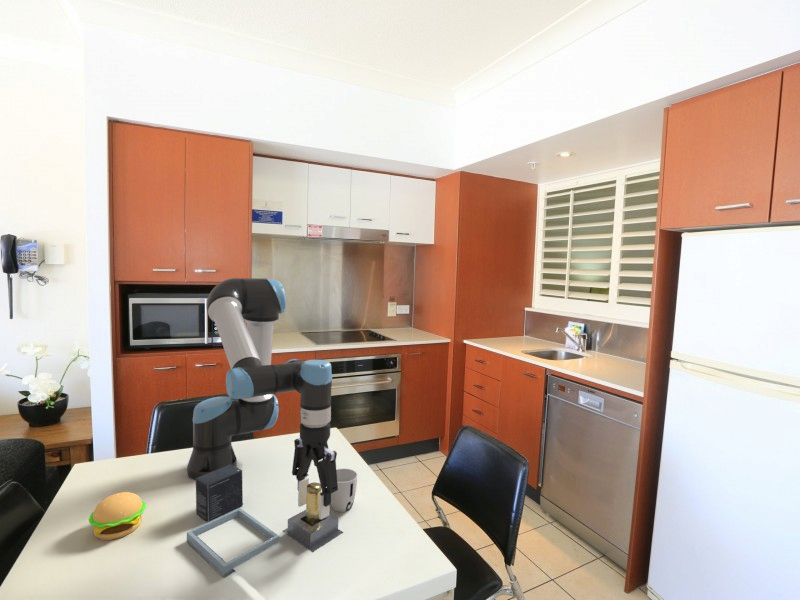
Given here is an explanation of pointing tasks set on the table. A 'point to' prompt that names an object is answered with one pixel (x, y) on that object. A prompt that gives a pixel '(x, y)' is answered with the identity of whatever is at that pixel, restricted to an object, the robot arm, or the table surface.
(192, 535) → the tray
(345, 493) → the cup
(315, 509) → the pin
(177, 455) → the table surface
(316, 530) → the block
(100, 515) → the hamburger
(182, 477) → the table surface
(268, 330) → the robot arm
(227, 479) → the box
